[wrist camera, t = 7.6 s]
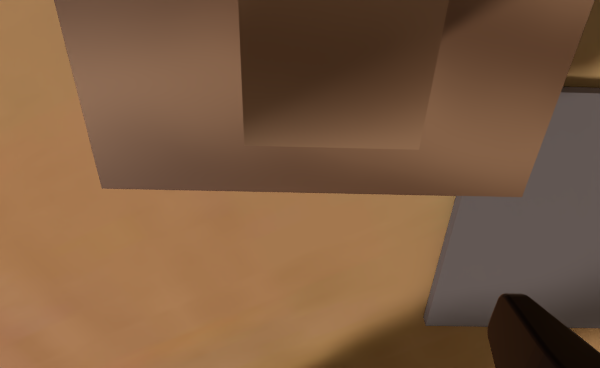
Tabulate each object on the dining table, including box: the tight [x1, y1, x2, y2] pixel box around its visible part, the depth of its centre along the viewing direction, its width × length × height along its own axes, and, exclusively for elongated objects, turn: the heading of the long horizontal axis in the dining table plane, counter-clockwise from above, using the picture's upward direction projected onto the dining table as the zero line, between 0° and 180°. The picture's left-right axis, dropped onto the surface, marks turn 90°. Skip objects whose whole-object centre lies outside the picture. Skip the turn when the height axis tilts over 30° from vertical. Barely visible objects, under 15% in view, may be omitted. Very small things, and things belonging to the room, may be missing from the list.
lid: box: [54, 0, 595, 197], centre depth 10 cm, size 12×14×6 cm
